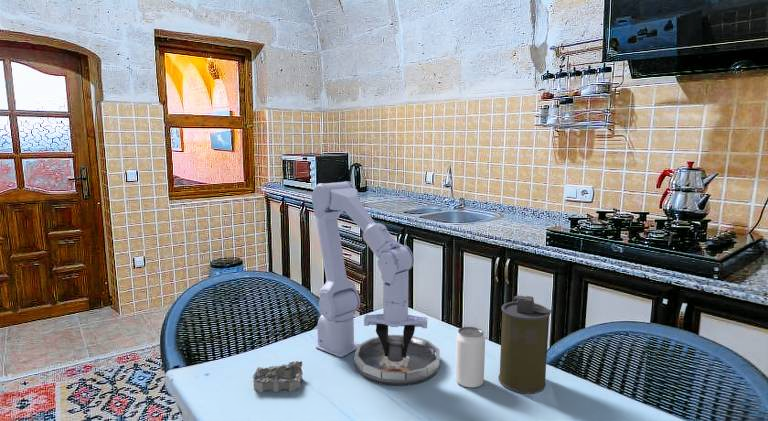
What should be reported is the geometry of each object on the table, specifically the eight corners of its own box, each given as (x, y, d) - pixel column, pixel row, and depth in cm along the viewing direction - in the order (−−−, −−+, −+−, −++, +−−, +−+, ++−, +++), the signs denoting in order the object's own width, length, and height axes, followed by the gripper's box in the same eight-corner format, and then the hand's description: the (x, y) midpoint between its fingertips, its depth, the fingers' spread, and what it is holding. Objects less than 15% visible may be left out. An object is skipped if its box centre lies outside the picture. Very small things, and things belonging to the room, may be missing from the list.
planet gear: (383, 369, 104) (383, 350, 103) (380, 356, 110) (380, 338, 110) (411, 367, 105) (411, 349, 104) (406, 355, 111) (406, 337, 110)
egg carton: (304, 376, 108) (304, 360, 107) (298, 394, 101) (298, 376, 100) (259, 376, 108) (258, 359, 107) (250, 393, 101) (249, 376, 100)
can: (483, 390, 102) (485, 338, 100) (454, 387, 103) (455, 336, 101) (483, 375, 108) (485, 327, 106) (455, 372, 109) (456, 324, 107)
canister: (495, 388, 102) (498, 302, 99) (501, 367, 112) (504, 288, 109) (547, 398, 98) (552, 309, 95) (548, 375, 108) (553, 293, 105)
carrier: (338, 368, 111) (337, 348, 111) (388, 338, 128) (388, 321, 127) (409, 395, 99) (409, 374, 99) (454, 359, 116) (454, 340, 115)
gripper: (361, 304, 102) (362, 361, 104) (427, 306, 101) (426, 364, 103) (366, 293, 109) (366, 347, 111) (427, 296, 108) (427, 350, 110)
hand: (395, 355), depth 107 cm, fingers closed on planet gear, 4 cm apart
